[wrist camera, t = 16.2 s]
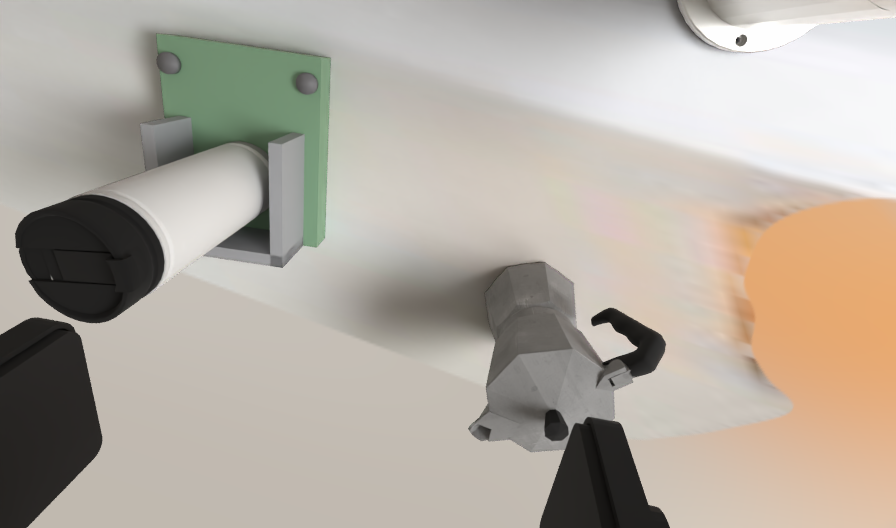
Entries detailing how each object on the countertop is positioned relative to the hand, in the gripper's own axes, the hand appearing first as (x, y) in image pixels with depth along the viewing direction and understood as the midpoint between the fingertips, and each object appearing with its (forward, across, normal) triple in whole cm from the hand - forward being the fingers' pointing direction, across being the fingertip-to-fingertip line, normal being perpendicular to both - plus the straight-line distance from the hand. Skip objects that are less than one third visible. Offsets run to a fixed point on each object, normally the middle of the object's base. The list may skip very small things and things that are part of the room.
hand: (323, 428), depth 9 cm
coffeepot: (+36, -10, +15) cm, 40 cm away
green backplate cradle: (+35, +18, +4) cm, 39 cm away
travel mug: (+32, +17, +6) cm, 37 cm away
